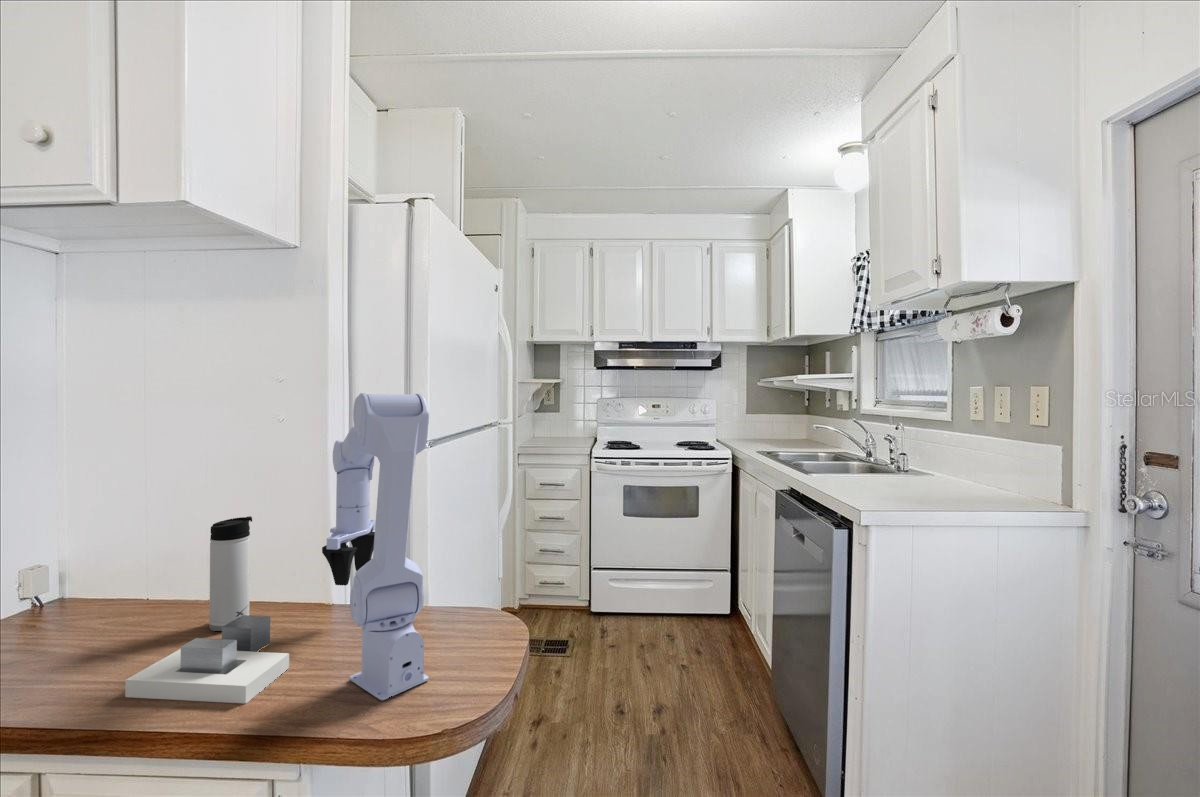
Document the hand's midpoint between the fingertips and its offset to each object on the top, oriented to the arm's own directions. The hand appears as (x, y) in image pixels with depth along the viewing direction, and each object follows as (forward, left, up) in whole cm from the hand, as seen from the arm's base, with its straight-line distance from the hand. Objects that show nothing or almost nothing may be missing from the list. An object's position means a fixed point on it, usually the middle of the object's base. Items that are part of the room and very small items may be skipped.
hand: (352, 577), depth 106 cm
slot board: (-3, +24, -9) cm, 26 cm away
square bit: (+5, +16, -10) cm, 19 cm away
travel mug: (+18, +14, -10) cm, 25 cm away
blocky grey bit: (-3, +24, -10) cm, 26 cm away
